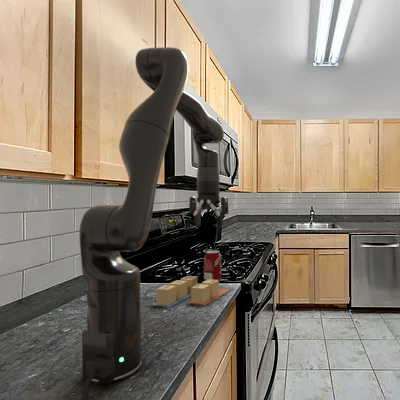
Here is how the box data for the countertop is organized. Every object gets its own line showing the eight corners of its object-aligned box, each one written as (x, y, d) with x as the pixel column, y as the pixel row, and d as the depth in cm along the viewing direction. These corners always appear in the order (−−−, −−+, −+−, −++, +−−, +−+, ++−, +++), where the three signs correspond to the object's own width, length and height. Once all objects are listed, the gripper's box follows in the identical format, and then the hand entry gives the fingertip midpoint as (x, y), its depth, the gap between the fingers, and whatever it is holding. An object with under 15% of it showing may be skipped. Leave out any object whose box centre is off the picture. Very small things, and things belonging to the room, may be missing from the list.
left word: (168, 307, 96) (168, 290, 96) (151, 305, 98) (151, 289, 98) (201, 290, 113) (201, 276, 113) (186, 289, 115) (186, 274, 115)
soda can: (211, 283, 122) (210, 253, 122) (200, 280, 126) (200, 251, 126) (224, 279, 127) (224, 251, 127) (214, 277, 131) (214, 249, 131)
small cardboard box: (190, 293, 109) (190, 279, 109) (180, 292, 110) (180, 278, 110) (197, 290, 113) (197, 276, 113) (187, 289, 114) (187, 275, 114)
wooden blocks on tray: (204, 305, 98) (204, 289, 98) (187, 303, 99) (187, 287, 99) (230, 289, 114) (230, 275, 114) (215, 288, 116) (215, 274, 116)
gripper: (184, 180, 106) (184, 227, 106) (220, 179, 102) (221, 228, 102) (197, 181, 113) (197, 225, 113) (231, 180, 109) (232, 226, 109)
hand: (208, 226), depth 108 cm, fingers open, 8 cm apart
